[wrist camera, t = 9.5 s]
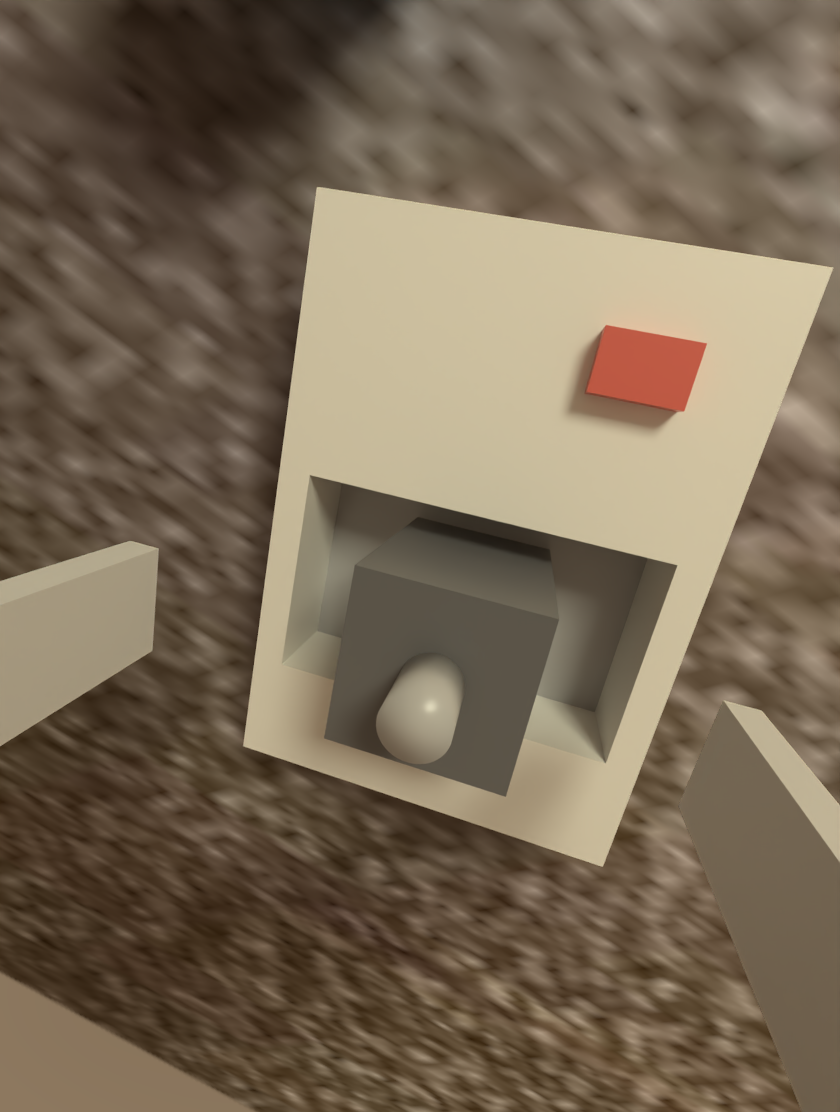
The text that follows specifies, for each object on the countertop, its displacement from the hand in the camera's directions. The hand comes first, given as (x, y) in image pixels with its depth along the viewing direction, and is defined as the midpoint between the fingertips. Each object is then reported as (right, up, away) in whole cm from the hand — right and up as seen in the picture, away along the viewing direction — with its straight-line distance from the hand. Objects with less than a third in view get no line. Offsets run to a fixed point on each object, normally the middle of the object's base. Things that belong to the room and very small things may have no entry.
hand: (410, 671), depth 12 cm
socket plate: (+3, +3, +7) cm, 8 cm away
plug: (+2, +1, +7) cm, 8 cm away
